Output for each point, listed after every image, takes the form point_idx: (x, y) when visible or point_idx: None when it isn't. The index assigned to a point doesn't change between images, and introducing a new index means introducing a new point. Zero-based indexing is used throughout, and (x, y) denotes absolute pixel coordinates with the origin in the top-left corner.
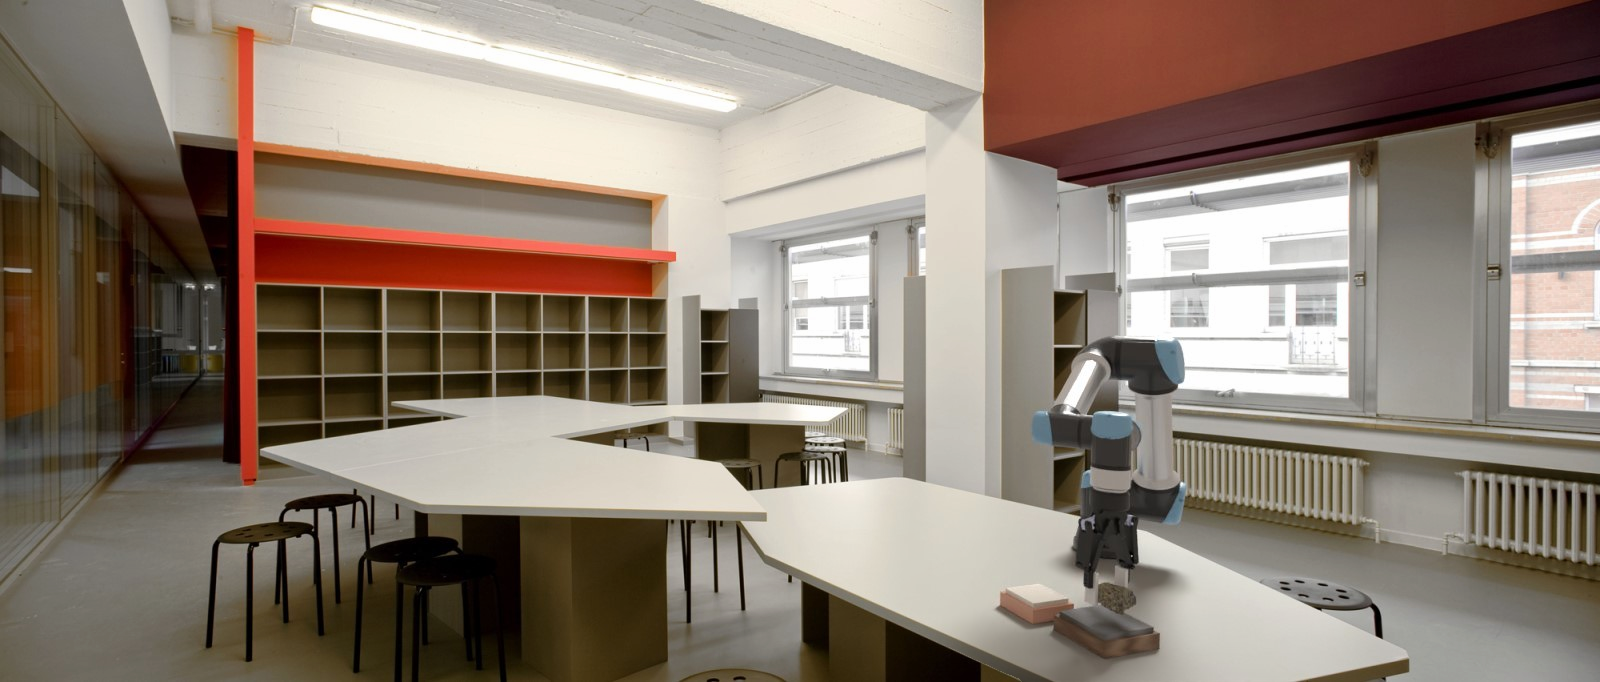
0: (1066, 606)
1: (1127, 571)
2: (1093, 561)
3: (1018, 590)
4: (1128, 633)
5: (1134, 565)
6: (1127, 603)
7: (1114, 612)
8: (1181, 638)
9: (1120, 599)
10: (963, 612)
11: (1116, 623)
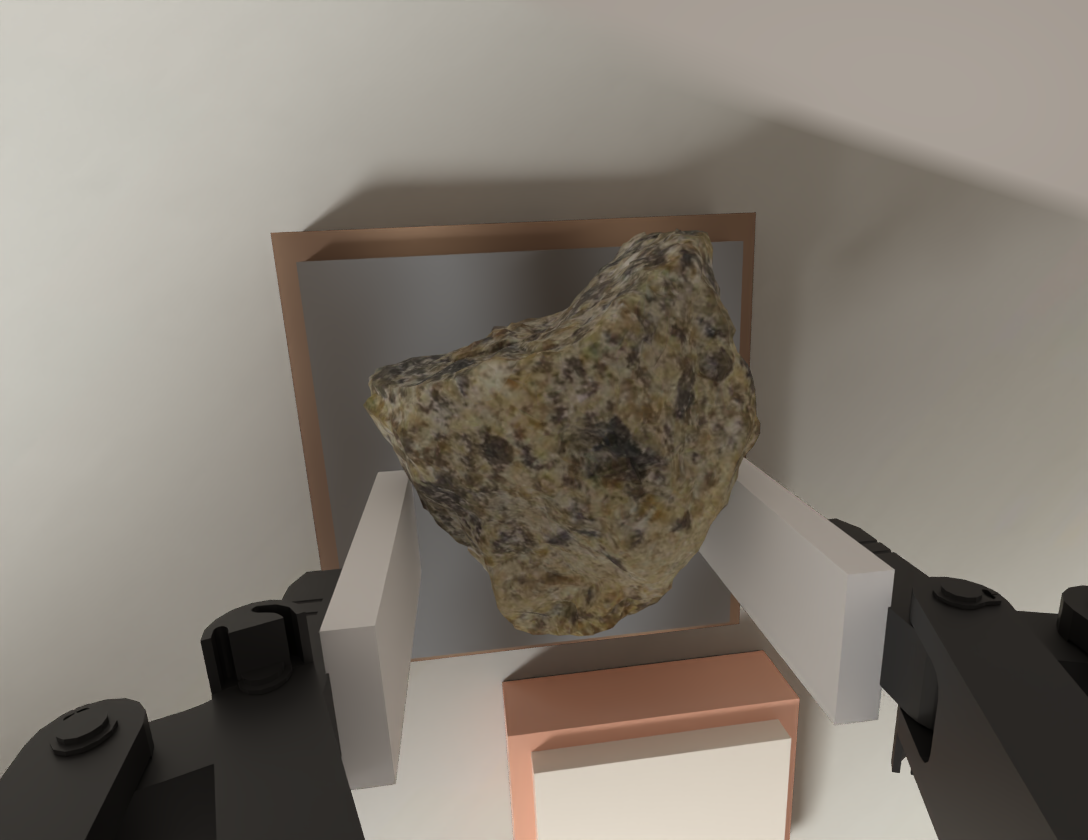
0: (561, 722)
1: (337, 615)
2: (1068, 680)
3: None
4: (539, 250)
5: (207, 643)
6: (520, 328)
7: None
8: (34, 313)
9: (701, 254)
10: None
11: None
